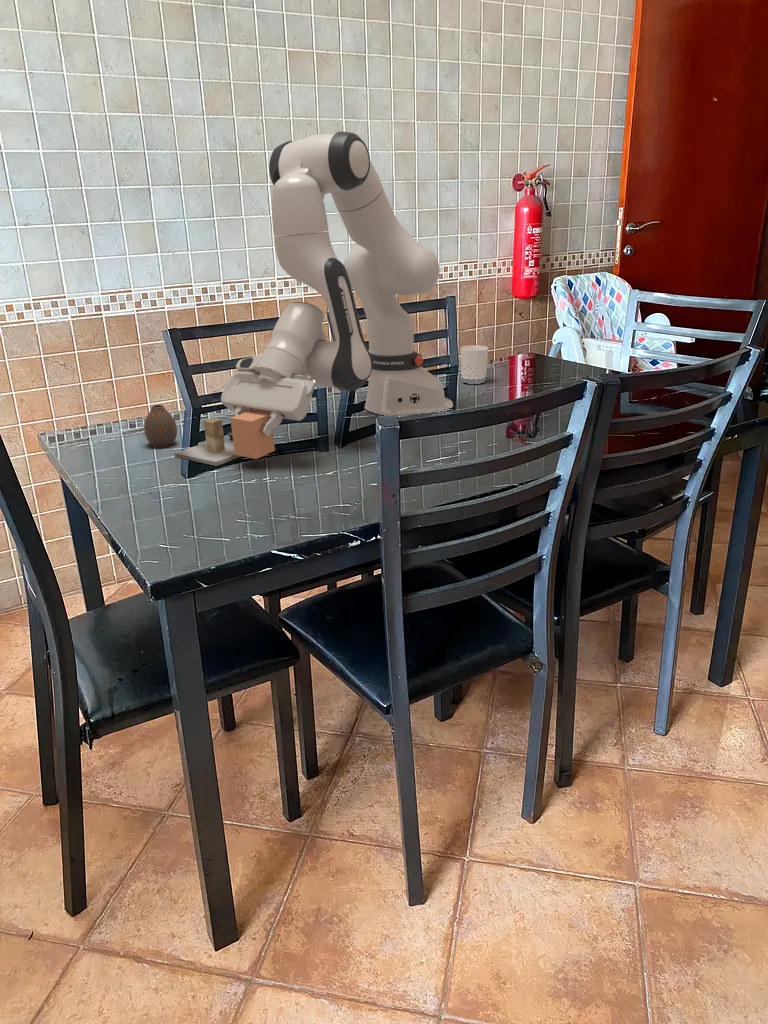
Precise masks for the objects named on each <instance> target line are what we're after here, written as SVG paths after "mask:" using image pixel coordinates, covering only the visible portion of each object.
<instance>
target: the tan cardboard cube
mask: <svg viewBox="0 0 768 1024" xmlns="http://www.w3.org/2000/svg"><path fill="white" fill-rule="evenodd" d="M270 415H271V414H268V413H262V412H255V411H248V412H245V413H242V414H240V415H237V416H235V415H234V416H232V417H230V418H229V419H230V425H231V426H230V427H231V433H232V434H233V439H232V442H234V450H235V455H238V456H241V457H244V458H250V459H255V460H257V459H259V458H262V457H264V456H266V455H268V454H270V453H273V452H275V451H276V448H275V438H274V429H273V430H272V432H271V434H270V436H264V435H262V434H261V433H260V432H259V430H260V428H261V425H262V424H266V423H267V422H268V421H269V420H270V419H271V417H270Z"/></svg>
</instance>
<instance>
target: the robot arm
mask: <svg viewBox="0 0 768 1024" xmlns="http://www.w3.org/2000/svg"><path fill="white" fill-rule="evenodd" d="M268 162H269V163H268V172H269V178H270V180H271V182H272V185H273V187H272V193H271V195H272V196H271V197H272V198H271V216H272V218H271V220H272V233H273V236H274V237H273V241H274V246H275V248H274V250H275V254H276V258H277V261H278V263H279V266H280V267H281V269H282V270H283V271H284V272H285V274H287V275H288V276H290V277H291V278H292V279H294V280H296V281H298V282H300V283H302V284H305V285H306V286H309V287H310V288H312V289H314V290H315V291H316V292H317V293H318V294H319V295H320V296H321V297H322V298H323V300H324V302H325V303H326V306H327V311H328V315H329V319H330V322H331V323H330V324H331V326H332V330H333V336H334V340H328V339H327V337H326V335H325V331H324V326H323V325H324V324H323V323H324V318H325V313H324V312H323V311H322V309H320V308H319V307H318V306H316V305H314V304H312V303H309V302H305V301H304V302H303V301H294V302H291V303H289V304H287V306H286V307H285V308H284V310H283V311H282V312H281V315H280V316H279V318H278V320H277V321H276V324H275V326H274V328H273V330H272V332H271V337H270V340H269V342H268V344H267V345H266V346H265V347H264V349H263V351H262V353H258V354H256V355H254V356H251V357H250V356H249V357H246V358H242V359H239V360H238V361H237V363H236V365H235V368H236V369H237V371H235V372H233V373H232V374H231V376H230V377H229V379H228V381H227V383H226V385H225V386H224V389H223V391H222V392H221V394H220V395H221V396H220V400H221V404H222V405H223V406H224V407H226V408H227V409H228V410H229V411H233V412H234V416H237V415H240V414H242V413H245V412H248V411H255V412H262V413H268V414H271V415H270V417H271V419H270V420H269V421H268V422H267V423H266V424H262V425H261V428H260V430H259V432H260V433H261V434H262V435H264V436H270V434H271V432H272V430H273V431H274V429H275V428H276V427H277V426H279V425H280V424H281V423H282V421H283V419H285V420H292V421H298V422H299V421H301V420H302V421H303V419H304V418H305V417H306V416H307V414H308V411H309V407H310V404H311V401H312V397H313V393H314V391H315V388H316V387H319V388H320V387H321V388H322V387H323V388H333V389H338V390H343V391H347V392H355V391H358V390H359V389H361V388H362V386H364V385H365V384H366V382H367V381H368V385H367V387H368V388H367V394H366V395H367V396H366V399H365V404H364V408H363V409H364V410H365V409H366V410H365V411H367V410H368V411H367V412H369V411H370V412H369V413H372V412H373V414H377V415H378V414H379V415H381V416H383V415H407V414H418V413H432V412H439V411H447V410H452V411H453V409H454V403H453V401H452V400H451V399H450V398H446V396H445V391H444V386H443V384H442V382H441V380H440V379H438V378H437V377H436V376H435V375H433V374H432V373H430V371H428V370H427V369H426V368H425V367H423V363H424V358H423V355H422V354H421V353H420V352H419V353H418V352H417V351H415V347H414V345H415V344H414V342H415V339H414V338H415V337H414V335H415V334H414V333H415V332H414V331H415V330H414V329H415V326H414V323H415V322H414V320H413V318H412V316H411V315H410V314H409V313H408V312H407V311H405V309H404V308H402V306H401V304H400V303H399V300H398V296H400V295H401V296H417V295H421V294H425V293H430V292H431V291H432V290H433V289H434V288H435V286H436V285H437V283H438V281H439V276H440V264H439V261H438V257H437V256H436V254H435V252H433V251H432V250H431V249H428V248H427V247H424V246H423V245H422V244H420V243H419V242H418V241H417V240H415V238H414V237H412V235H410V234H409V232H408V231H407V229H405V228H404V226H403V225H402V224H401V223H400V221H399V220H398V218H397V216H396V215H395V213H394V211H393V208H392V206H391V203H390V202H389V201H390V200H389V199H388V196H387V193H386V192H385V188H384V186H383V184H382V182H381V179H380V176H379V174H378V172H377V171H376V169H375V167H374V165H373V163H372V161H371V157H370V153H369V148H368V146H367V145H366V143H365V141H364V140H363V139H362V138H361V137H360V136H359V135H357V134H356V133H354V132H351V131H350V132H349V131H337V132H336V133H335V132H334V133H320V134H318V133H317V134H312V135H310V136H307V137H306V136H305V137H304V138H300V139H296V140H289V141H285V142H283V143H281V144H279V145H278V146H276V147H275V148H274V149H273V150H272V153H271V156H270V159H269V161H268ZM327 194H331V197H332V200H333V202H334V205H335V206H336V209H337V211H338V214H339V216H340V218H341V220H342V223H343V225H344V228H345V229H346V231H347V233H348V235H349V238H350V239H351V240H352V241H353V242H354V243H355V244H357V246H358V245H359V246H360V247H358V248H357V247H356V248H353V249H351V250H349V252H347V254H346V256H345V258H344V261H343V262H342V261H341V260H339V259H338V257H337V255H336V253H335V251H334V249H333V246H332V242H331V239H330V233H329V225H328V224H329V223H328V218H327V217H328V216H327V212H326V208H325V201H324V199H325V195H327ZM353 291H354V293H355V294H356V296H357V297H358V299H359V301H360V303H361V306H362V308H363V310H364V313H365V317H366V321H367V322H366V323H367V333H368V345H367V343H366V340H365V338H364V334H363V331H362V326H361V323H360V318H359V315H358V314H359V313H358V309H357V306H356V305H357V304H356V301H355V300H356V299H355V296H354V293H353ZM397 295H398V296H397ZM452 407H453V409H449V408H452ZM441 409H445V410H441ZM435 410H438V411H435Z"/></svg>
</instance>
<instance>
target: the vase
mask: <svg viewBox="0 0 768 1024" xmlns="http://www.w3.org/2000/svg"><path fill="white" fill-rule="evenodd" d="M150 408H151V409H150V411H149V412H148V414H147V416H146V417H145V420H144V423H143V430H144V431H143V432H144V436H145V439H146V441H147V442H148V443H149V444H150V445H151V446H153V447H154V448H165V447H167V448H168V447H170V446H172V445H173V444H174V442H175V441H176V439H177V436H178V426H177V423H176V421H175V418H174V416H173V415H172V414H171V413H170V412H169V411H168V410H167V409H166V408H165V406H164V405H163V404H155V405H152V406H151V407H150Z"/></svg>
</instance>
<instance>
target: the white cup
mask: <svg viewBox="0 0 768 1024" xmlns="http://www.w3.org/2000/svg"><path fill="white" fill-rule="evenodd" d="M459 352H460V373H461V379H462V378H464V379H471V380H472V379H475V380H477V379H482V378H485V377H486V378H487V375H486V374H487V370H488V369H487V368H488V359H489V358H488V356H489V347H488V346H485V345H484V346H483V345H464V346H460V351H459Z"/></svg>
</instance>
